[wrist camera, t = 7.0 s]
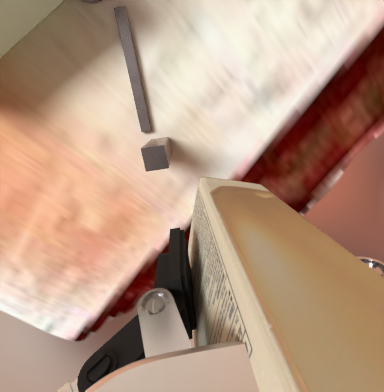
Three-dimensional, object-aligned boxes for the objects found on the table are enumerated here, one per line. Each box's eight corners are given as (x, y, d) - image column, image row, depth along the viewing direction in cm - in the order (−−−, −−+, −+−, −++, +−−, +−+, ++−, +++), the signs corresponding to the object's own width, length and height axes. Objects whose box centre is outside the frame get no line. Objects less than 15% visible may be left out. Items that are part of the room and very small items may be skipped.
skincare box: (241, 259, 16) (410, 632, 4) (185, 254, 15) (209, 662, 4) (264, 179, 14) (728, 511, 2) (199, 170, 13) (352, 547, 2)
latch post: (145, 6, 19) (128, -51, 13) (171, 154, 24) (168, 167, 18) (115, 10, 19) (83, -44, 13) (148, 157, 24) (137, 173, 18)
